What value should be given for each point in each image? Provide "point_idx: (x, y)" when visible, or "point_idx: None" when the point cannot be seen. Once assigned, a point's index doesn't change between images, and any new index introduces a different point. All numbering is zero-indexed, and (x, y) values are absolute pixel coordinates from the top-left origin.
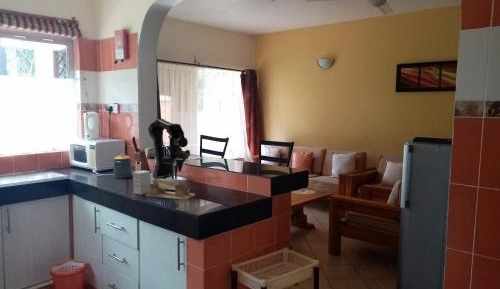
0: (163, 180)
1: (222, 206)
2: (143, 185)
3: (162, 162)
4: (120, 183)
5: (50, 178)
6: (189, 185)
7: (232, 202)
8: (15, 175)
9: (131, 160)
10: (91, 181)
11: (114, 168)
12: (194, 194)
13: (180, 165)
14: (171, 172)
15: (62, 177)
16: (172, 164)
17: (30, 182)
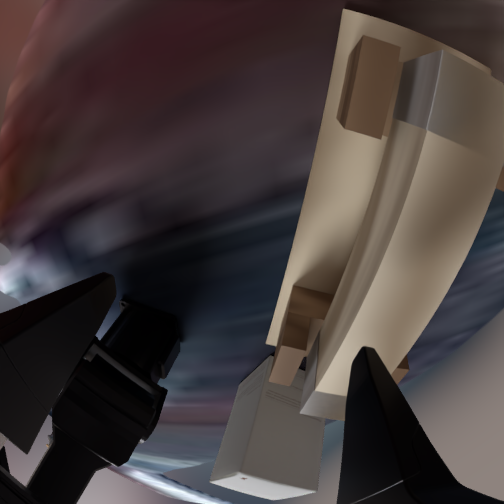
0: (403, 356)
1: None
2: (310, 416)
3: None
4: None
5: (169, 484)
6: (360, 41)
7: None
8: (171, 495)
9: (50, 437)
10: (160, 461)
11: None
12: (357, 13)
13: (44, 340)
14: (387, 374)
15: (153, 476)
16: (477, 500)
17: (208, 497)
